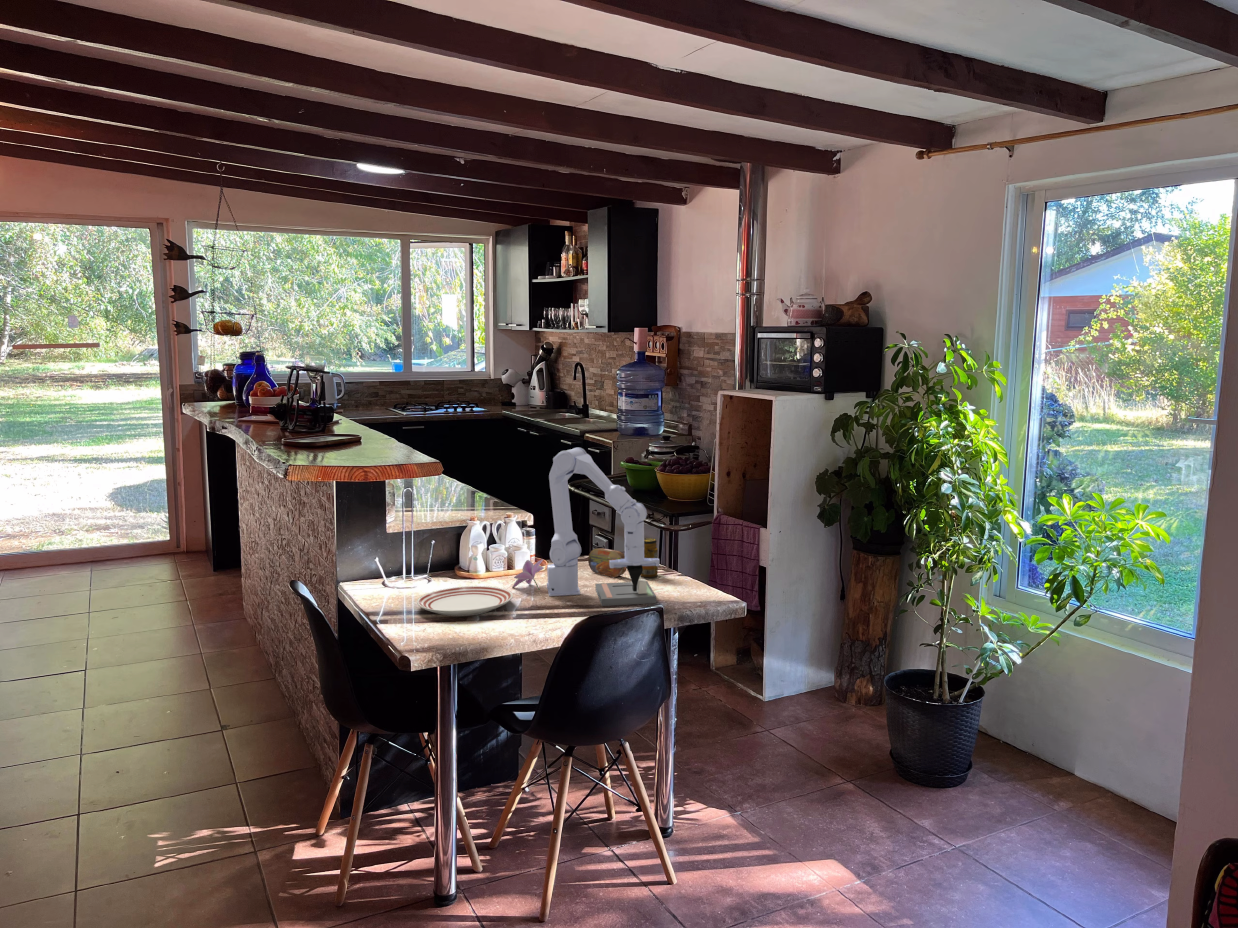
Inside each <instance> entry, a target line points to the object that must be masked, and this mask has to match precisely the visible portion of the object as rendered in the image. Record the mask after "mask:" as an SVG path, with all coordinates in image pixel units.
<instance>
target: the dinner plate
mask: <svg viewBox="0 0 1238 928" xmlns="http://www.w3.org/2000/svg"><path fill="white" fill-rule="evenodd" d="M513 596H514V594H513V592H511V591H510V590H507V589H505V588H502V587H496V586H490V585H489V586H487V585H486V586H485V585H468V586H455V587H449V588H443V589H438V590H435V591H431V592H428V593H425V594H424V595H422V596H420V597H419V598H418V599H417V600H416V605H417V606H418V607H420V608H422V609H423V610H426V611H428V612H431V613H435V614H439V615H441V616H449V617H465V616H466V617H467V616H468V617H469V616H476V615H481V614H485V613H489V612H491V611H493V610H496V609H497V608H500V607H502V606H504V605H506V604H507V603H508V602H510V601H511V600H512V599H513Z"/></svg>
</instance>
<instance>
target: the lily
mask: <svg viewBox="0 0 1238 928" xmlns="http://www.w3.org/2000/svg"><path fill="white" fill-rule="evenodd" d="M543 561H544V559H543V558H542V559H540V560H538V561H537V562H535V563H533V562H532V561H531V560H530V559H527V560H526V561H525V562H524V564H523V566H522V571H521V572H520V573H518V574H516V575H515V576H514V577H513V579H515V580H516V581H515V582H514V583H513V585H512V589H514V588H516V587H517V586H519V585H520V584H522V583H523V582H525V583H526V584H528V585H531V583H532V580H533V582H534V583H535V585H536V587H537V589H538V591H541V590H540V587H539V584H538V583H537V581H536V580H535V576H536V574H537V573H539V572H541V571H542V570H544V569H545V567H544V566H542V565H541V563H542V562H543ZM513 587H514V588H513Z"/></svg>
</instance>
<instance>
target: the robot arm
mask: <svg viewBox="0 0 1238 928" xmlns="http://www.w3.org/2000/svg"><path fill="white" fill-rule="evenodd" d="M552 462H553V463H552V466H551V468H550V471H549V475H548V480H549V489H550V498H551V499H550V500H551V507H552V508H551V509H552V518H553V528H554V535H553V537H552V538H551V543H550V544H551V545H550V546H551V547H550V550H549V559H550V560H551V562H552V564H547V565H546V566H547V568H546V569H547V570H546V571H547V576H546V577H547V582H546V589H547V592H548V593H547V594H548V597H559V596H561V597H562V596H578V595H581V591H580V587H579V571H578V570H579V567H578V566H579V563H578V562H579V561H578V559H579V557H580V556H581V553H582V547H581V544H580V542H579V540H578V535H577V534H576V533H575V531H574V530H573V521H572V519H573V518H572V512H571V511H572V510H571V501H570V491H569V483H568V480H569V479H570V478H571V477H572V476H573V474H580V475H585V476H586V477H588V478H589V479H590V480H591V481H592V483H594V484H595V485H596V486H597V487H598V488H599V489H601V491H603V492H604V499H605V500H606V501H607V502H608V503H609V504H610V506H612V508H614V510H615V511H617V513H618V514H619V515H620V519H621V522H622V524H623V525H624V529H623V531H624V533H623V534H624V555H625V559H618V560H609V562H610V568H614V567H626V568H627V569H626V571H628V572H627V573H628V574H629V577H630V579H631V580H632V584H633V585H632V587H633V591H634V592H635V591H637V583H638V580H639V577H640V575H641V573H642V571H643V568H642V566H658V567H660V558H644V538H645V522H644V521H645V520H646V518H647V515H648V511H647V508H646V507H645V505H644V504H643V503H641V502H637V500H636V499H633V498H632V497H631V496H630V495H629V494H628V493H627V491H626V488H625V486H621V485H619V484H613V483H612V482H611V480H610V479H609V478H608V477H607V475H605V473H604V472H603V471H602V469H600V468H599V466H598V465H597V464H596V462H594V460H593V458H592V456H591V455H590V454H589V453H587V451H586V450H585V449H584V448H582V447H573V448H572V449H571V448H570V449H567V450H561V451H560V452H558V453H557V454H556V455H555V456H553V458H552Z"/></svg>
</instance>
